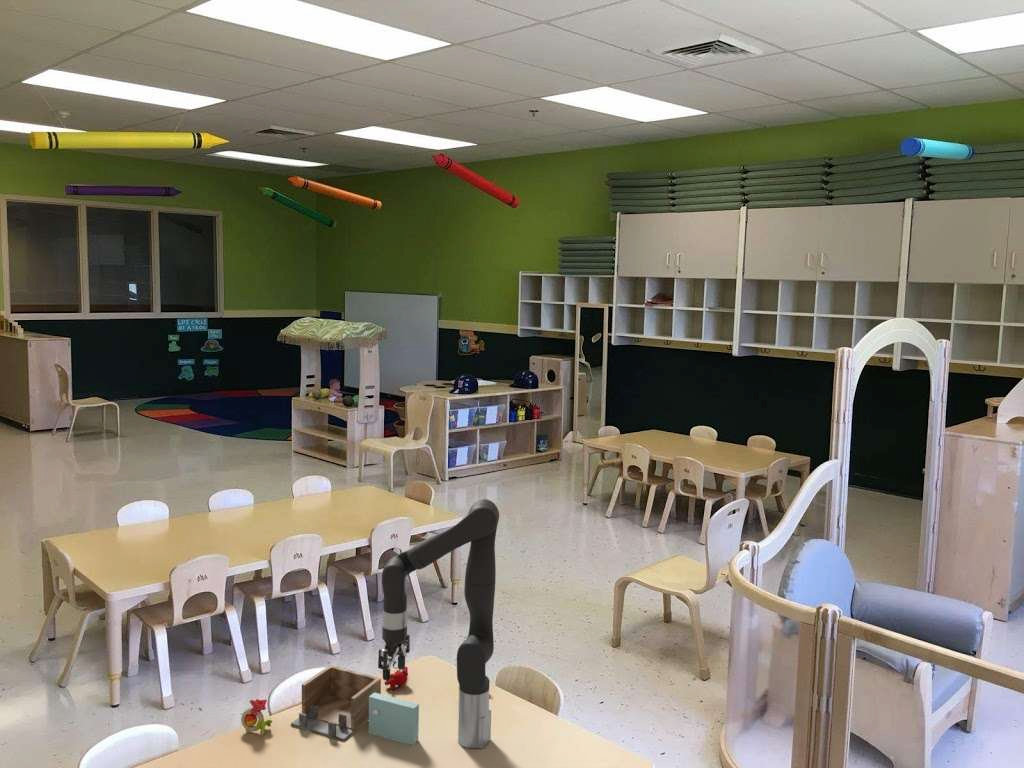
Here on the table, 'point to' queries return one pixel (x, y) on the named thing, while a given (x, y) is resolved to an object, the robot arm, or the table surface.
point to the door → (393, 718)
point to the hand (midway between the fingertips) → (394, 674)
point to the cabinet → (336, 702)
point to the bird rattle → (255, 717)
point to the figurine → (397, 677)
